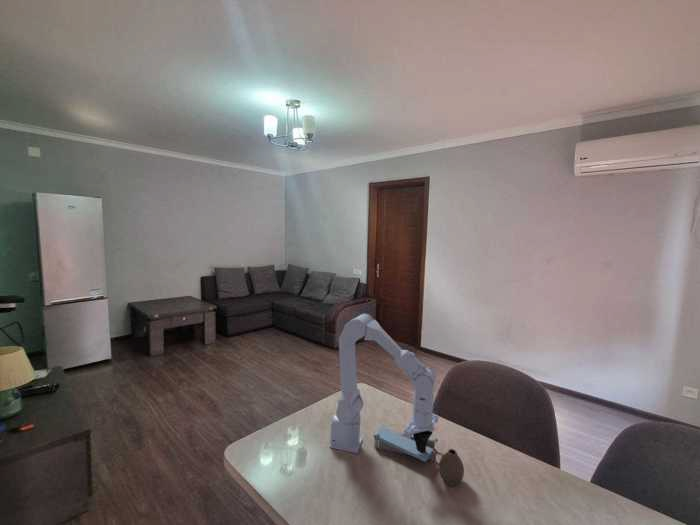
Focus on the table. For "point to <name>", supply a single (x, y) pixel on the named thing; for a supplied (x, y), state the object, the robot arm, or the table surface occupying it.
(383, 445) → the grey u-channel
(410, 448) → the cover
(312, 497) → the table surface
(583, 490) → the table surface
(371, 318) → the robot arm
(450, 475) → the vase
